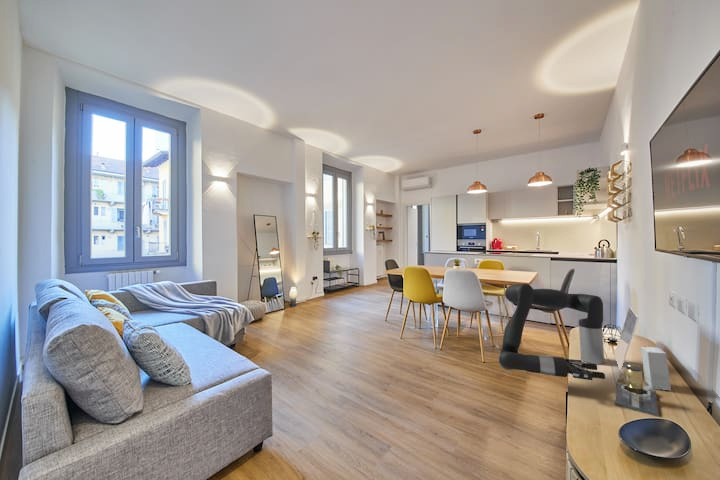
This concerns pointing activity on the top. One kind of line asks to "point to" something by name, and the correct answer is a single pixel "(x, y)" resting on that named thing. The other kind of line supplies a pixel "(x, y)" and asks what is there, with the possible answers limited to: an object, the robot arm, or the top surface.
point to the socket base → (637, 399)
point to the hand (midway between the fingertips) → (600, 371)
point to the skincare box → (655, 368)
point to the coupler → (634, 377)
